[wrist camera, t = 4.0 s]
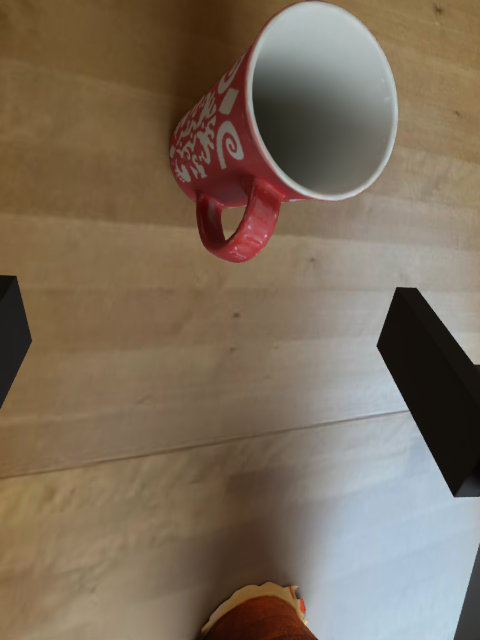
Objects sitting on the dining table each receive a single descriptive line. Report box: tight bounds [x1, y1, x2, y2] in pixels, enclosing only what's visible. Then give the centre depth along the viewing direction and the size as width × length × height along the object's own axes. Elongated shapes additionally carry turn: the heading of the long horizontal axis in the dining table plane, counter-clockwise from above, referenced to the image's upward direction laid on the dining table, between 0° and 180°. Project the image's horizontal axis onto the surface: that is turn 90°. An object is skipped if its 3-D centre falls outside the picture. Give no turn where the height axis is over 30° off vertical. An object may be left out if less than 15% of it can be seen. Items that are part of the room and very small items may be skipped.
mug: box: [170, 0, 398, 263], centre depth 27 cm, size 13×9×14 cm
